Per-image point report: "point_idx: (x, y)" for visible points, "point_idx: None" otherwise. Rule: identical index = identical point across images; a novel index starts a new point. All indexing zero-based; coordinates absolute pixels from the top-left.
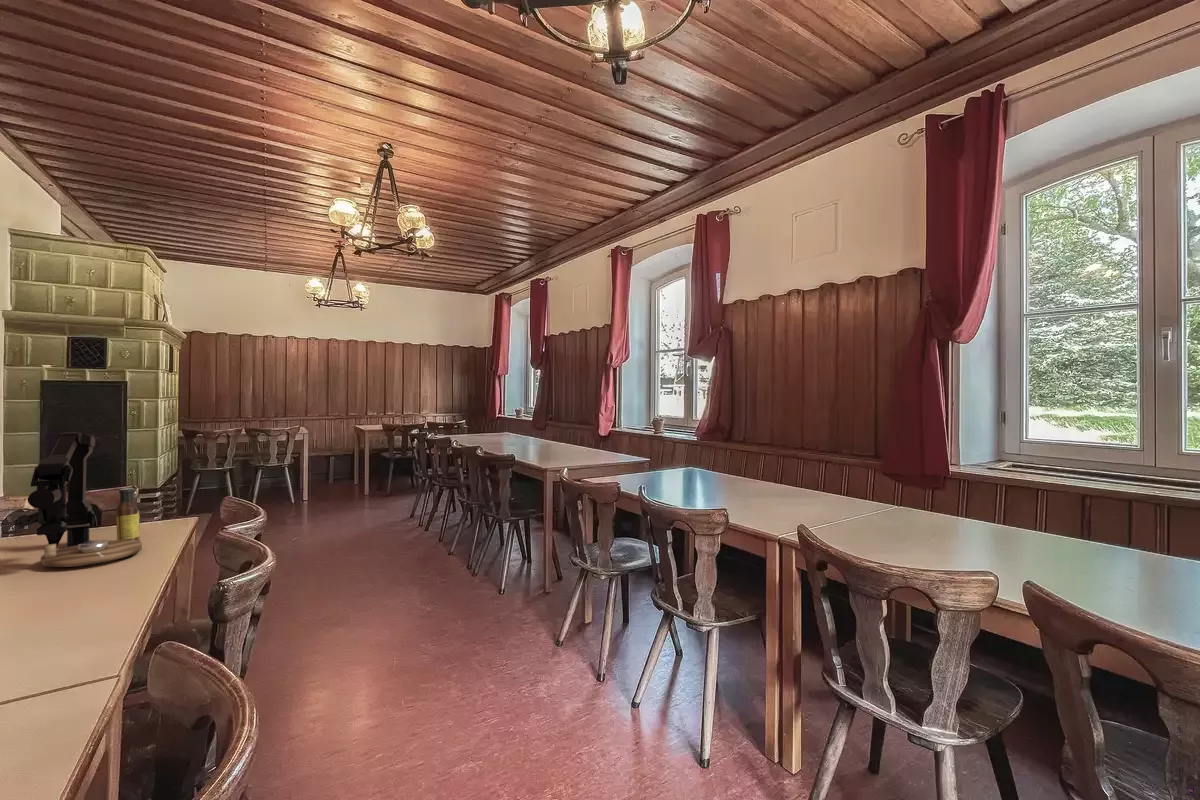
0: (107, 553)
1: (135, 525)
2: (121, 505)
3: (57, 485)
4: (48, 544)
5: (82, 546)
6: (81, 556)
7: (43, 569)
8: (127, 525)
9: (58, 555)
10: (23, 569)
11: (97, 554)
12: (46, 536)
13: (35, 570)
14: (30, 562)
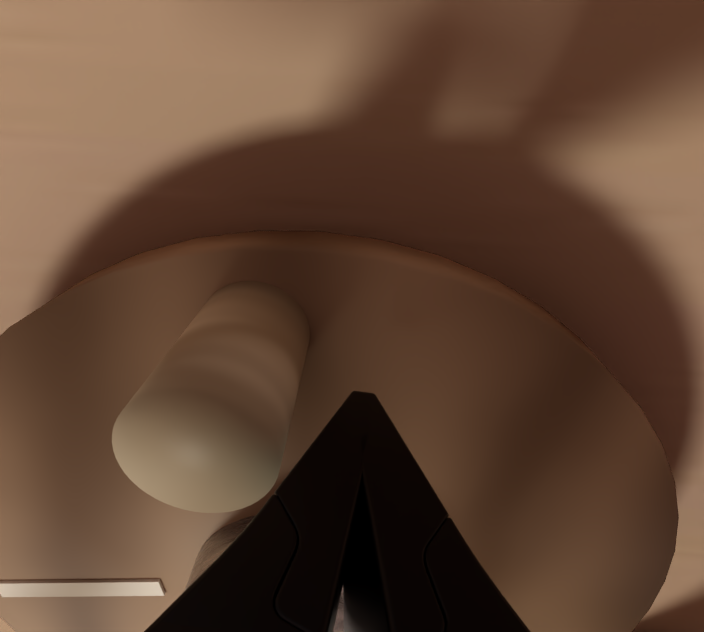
0: (94, 614)
1: None
2: None
3: None
4: (273, 442)
5: None
6: (103, 509)
7: (213, 230)
8: None
9: (306, 395)
10: (373, 70)
11: (100, 579)
12: (158, 620)
13: (223, 169)
14: (680, 156)
